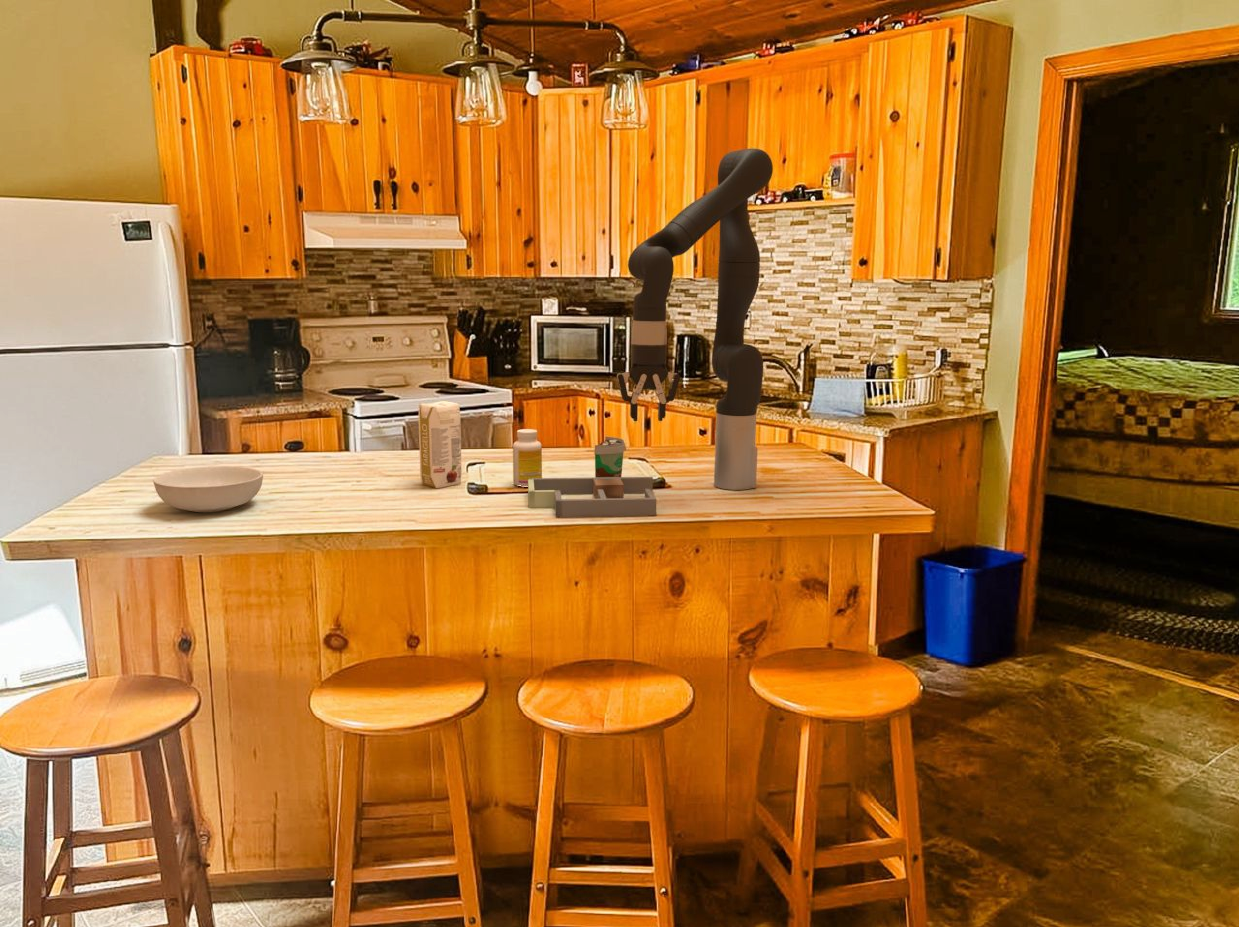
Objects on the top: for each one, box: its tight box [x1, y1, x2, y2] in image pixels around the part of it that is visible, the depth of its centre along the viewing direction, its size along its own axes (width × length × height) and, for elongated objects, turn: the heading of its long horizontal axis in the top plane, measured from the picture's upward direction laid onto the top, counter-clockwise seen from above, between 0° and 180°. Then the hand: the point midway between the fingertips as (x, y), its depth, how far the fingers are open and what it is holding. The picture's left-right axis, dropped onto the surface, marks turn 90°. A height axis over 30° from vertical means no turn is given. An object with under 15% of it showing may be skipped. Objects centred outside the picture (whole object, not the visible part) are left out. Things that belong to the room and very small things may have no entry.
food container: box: [593, 436, 627, 477], centre depth 223 cm, size 12×6×10 cm, turn 168°
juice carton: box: [417, 400, 462, 489], centre depth 219 cm, size 8×9×19 cm
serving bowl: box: [153, 465, 264, 513], centre depth 198 cm, size 21×21×7 cm
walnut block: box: [592, 479, 625, 499], centre depth 209 cm, size 6×6×4 cm
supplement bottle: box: [512, 428, 543, 486], centre depth 220 cm, size 7×7×13 cm
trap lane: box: [527, 476, 658, 518], centre depth 204 cm, size 28×21×4 cm
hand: (647, 420), depth 207 cm, fingers open, 5 cm apart
